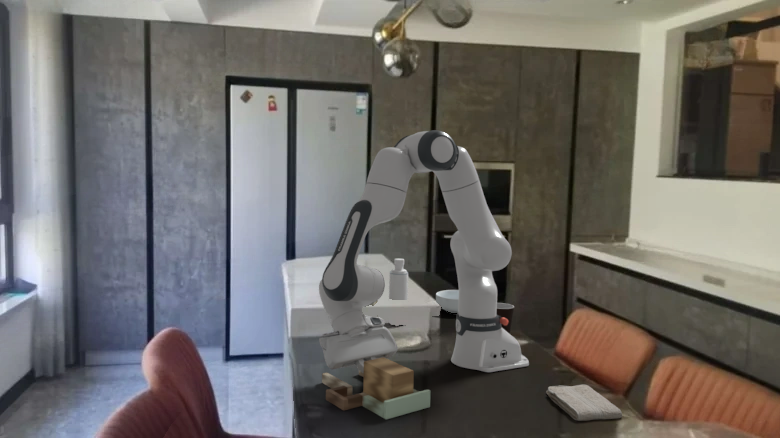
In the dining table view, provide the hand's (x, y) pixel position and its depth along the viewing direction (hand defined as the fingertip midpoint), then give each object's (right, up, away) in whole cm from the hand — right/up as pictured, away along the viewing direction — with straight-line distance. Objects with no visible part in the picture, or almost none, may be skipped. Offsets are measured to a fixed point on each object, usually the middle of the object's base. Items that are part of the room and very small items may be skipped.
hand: (372, 376), depth 156 cm
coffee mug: (+42, 0, +59) cm, 72 cm away
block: (+4, -5, -5) cm, 8 cm away
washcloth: (+51, -7, -4) cm, 51 cm away
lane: (0, -4, 0) cm, 4 cm away
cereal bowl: (+31, +3, +88) cm, 94 cm away
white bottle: (+7, +2, +68) cm, 69 cm away
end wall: (+8, -6, -11) cm, 15 cm away
